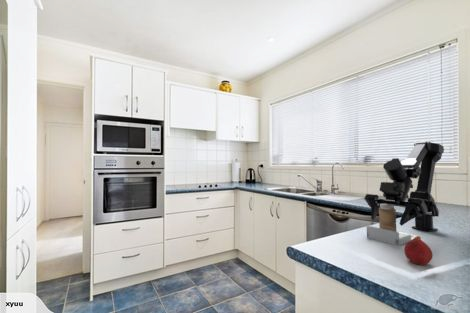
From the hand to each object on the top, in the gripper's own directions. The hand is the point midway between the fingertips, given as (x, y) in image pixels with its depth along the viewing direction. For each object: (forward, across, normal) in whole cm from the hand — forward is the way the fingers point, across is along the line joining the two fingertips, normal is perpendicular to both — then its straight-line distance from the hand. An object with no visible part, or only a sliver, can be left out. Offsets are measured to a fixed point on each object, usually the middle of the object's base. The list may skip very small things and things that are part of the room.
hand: (385, 221), depth 80 cm
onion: (+15, +14, -5) cm, 21 cm away
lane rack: (+1, 0, +9) cm, 9 cm away
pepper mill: (+3, 0, +5) cm, 6 cm away
